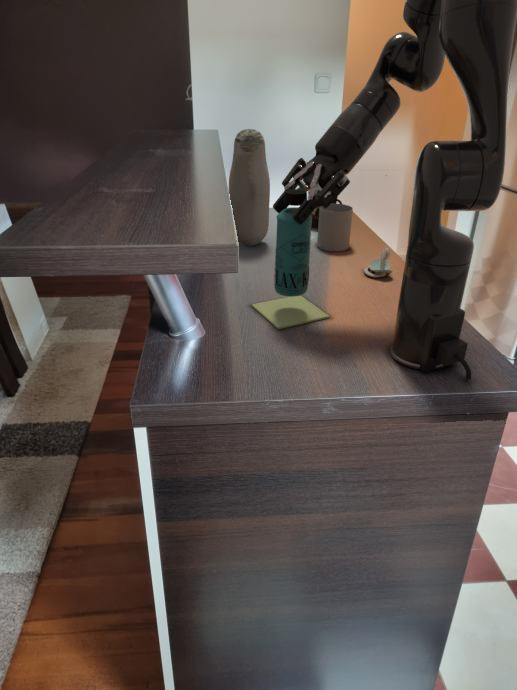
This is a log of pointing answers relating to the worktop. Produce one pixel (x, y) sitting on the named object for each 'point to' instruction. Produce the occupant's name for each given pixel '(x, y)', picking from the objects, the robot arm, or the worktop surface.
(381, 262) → the pacifier
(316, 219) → the coffee mug
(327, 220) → the cup
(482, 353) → the worktop surface
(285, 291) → the beverage bottle
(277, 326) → the pad
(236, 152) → the grey rounded tall figure
